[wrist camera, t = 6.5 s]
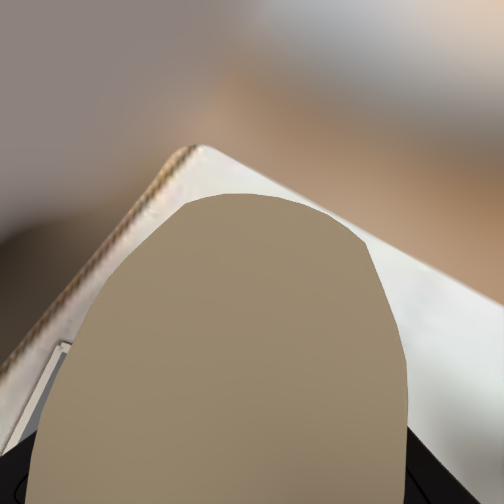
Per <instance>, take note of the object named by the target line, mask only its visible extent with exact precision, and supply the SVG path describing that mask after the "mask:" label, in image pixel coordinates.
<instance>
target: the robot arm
mask: <svg viewBox="0 0 504 504" xmlns="http://www.w3.org/2000/svg"><path fill="white" fill-rule="evenodd" d="M37 430H38V429H37ZM37 430H36V431H34V432H33V433H32V434H31V435H29V436H28V437H26V438H25V439H24V440H22V441H21V442H20V443H18V444H17V445H16V446H14V447H13V448H12V449H10V450H9V451H8V452H6V453H5V454H3V455H2V456H1V457H0V504H25V498H26V491H27V484H28V477H29V470H30V462H31V456H32V451H33V447H34V443H35V438H36V434H37ZM403 504H481V503H480V502H479V501H478V500H477V499H476V498H475V497H474V496H473V495H472V494H471V493H470V492H469V491H468V490H467V489H466V488H465V487H464V486H463V485H462V484H461V483H460V482H459V481H458V480H457V479H456V478H455V477H454V476H453V475H452V474H451V473H450V472H449V471H448V470H447V469H446V468H445V467H444V466H443V465H442V464H441V463H440V462H439V461H438V459H437V458H436V457H435V456H434V455H433V454H432V453H431V452H430V451H429V449H428V448H427V447H426V446H425V445H424V444H423V443H422V442H421V441H420V440H419V438H418V437H417V436H416V435H415V434H414V433H413V432H412V430H411V429H410V428H409V427H408V426H407V442H406V466H405V489H404V501H403Z"/></svg>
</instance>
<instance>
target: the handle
mask: <svg viewBox="0 0 504 504" xmlns="http://www.w3.org/2000/svg"><path fill="white" fill-rule="evenodd" d="M407 419H408V388H407V369H406V359H405V355H404V351H403V347H402V344H401V340H400V336H399V332H398V328H397V324H396V322H395V319H394V316H393V313H392V311H391V308H390V305H389V303H388V300H387V297H386V295H385V292H384V289H383V287H382V284H381V282H380V279H379V277H378V274H377V272H376V269H375V267H374V264H373V262H372V259H371V257H370V254H369V252H368V249H367V247H366V244H365V243H364V242H363V241H362V240H361V239H360V238H359V237H357V236H356V235H355V234H354V233H353V232H352V231H350V230H349V229H348V228H347V227H345V226H344V225H342V224H341V223H339V222H338V221H336V220H335V219H333V218H332V217H330V216H329V215H327V214H325V213H322V212H320V211H318V210H315V209H313V208H311V207H308V206H306V205H304V204H300V203H296V202H293V201H289V200H285V199H282V198H278V197H272V196H264V195H257V194H222V195H216V196H211V197H206V198H202V199H199V200H195V201H192V202H189V203H186V204H184V205H183V206H182V207H181V208H180V209H179V210H178V211H176V212H175V213H174V214H173V215H172V216H171V217H170V218H169V219H167V220H166V221H165V222H164V223H163V224H162V225H161V226H160V227H159V228H157V229H156V230H155V231H154V232H153V233H152V234H151V235H150V236H149V237H148V238H147V239H146V240H144V241H143V242H142V243H141V244H140V245H139V246H138V247H137V248H136V249H135V250H134V251H133V252H132V253H131V254H130V255H129V256H128V257H127V258H126V259H125V260H124V261H123V262H122V263H121V265H120V266H119V267H118V268H117V269H116V270H115V271H114V273H113V274H112V275H111V276H110V277H109V278H108V280H107V281H106V283H105V285H104V286H103V288H102V290H101V291H100V293H99V294H98V296H97V298H96V299H95V301H94V303H93V304H92V306H91V308H90V310H89V312H88V314H87V316H86V318H85V320H84V322H83V324H82V326H81V328H80V330H79V332H78V334H77V336H76V338H75V340H74V342H73V344H72V346H71V347H70V349H69V351H68V353H67V355H66V357H65V359H64V361H63V363H62V365H61V367H60V369H59V371H58V373H57V376H56V378H55V381H54V383H53V386H52V388H51V390H50V393H49V395H48V398H47V400H46V403H45V405H44V408H43V410H42V413H41V417H40V421H39V426H38V430H37V434H36V438H35V443H34V447H33V451H32V456H31V462H30V470H29V477H28V484H27V491H26V498H25V504H403V501H404V489H405V466H406V442H407Z"/></svg>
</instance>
